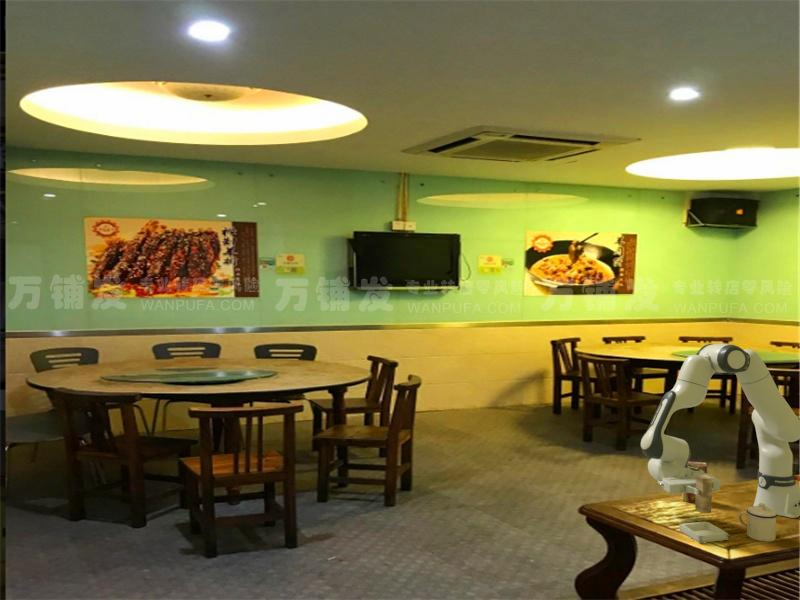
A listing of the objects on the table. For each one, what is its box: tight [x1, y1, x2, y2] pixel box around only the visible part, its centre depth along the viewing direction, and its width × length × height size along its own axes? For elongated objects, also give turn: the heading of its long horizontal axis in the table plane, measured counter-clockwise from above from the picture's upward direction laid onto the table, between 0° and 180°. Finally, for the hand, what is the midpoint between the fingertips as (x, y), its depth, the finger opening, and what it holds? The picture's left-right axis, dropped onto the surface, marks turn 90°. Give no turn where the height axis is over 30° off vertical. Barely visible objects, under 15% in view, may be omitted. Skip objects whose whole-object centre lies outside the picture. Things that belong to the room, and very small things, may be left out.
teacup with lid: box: [738, 503, 778, 542], centre depth 231 cm, size 12×9×12 cm
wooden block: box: [694, 475, 713, 514], centre depth 231 cm, size 4×4×12 cm
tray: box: [678, 521, 729, 544], centre depth 231 cm, size 11×11×2 cm
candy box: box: [681, 461, 708, 503], centre depth 265 cm, size 9×4×15 cm, turn 72°
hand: (705, 492), depth 230 cm, fingers closed on wooden block, 4 cm apart
